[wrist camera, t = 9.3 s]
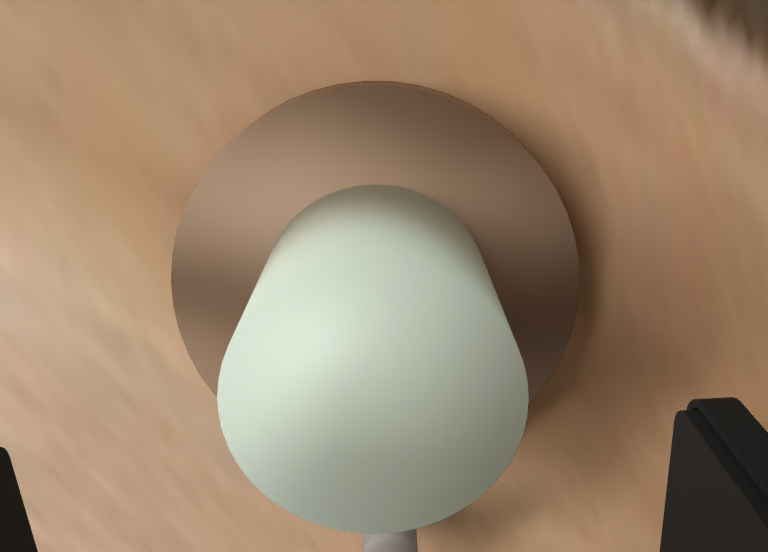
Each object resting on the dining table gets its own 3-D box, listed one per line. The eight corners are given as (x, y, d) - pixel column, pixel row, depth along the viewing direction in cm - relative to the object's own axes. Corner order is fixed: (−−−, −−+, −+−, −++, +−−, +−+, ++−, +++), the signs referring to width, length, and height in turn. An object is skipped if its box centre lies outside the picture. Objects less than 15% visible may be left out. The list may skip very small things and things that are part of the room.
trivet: (157, 92, 19) (110, 109, 16) (572, 69, 19) (612, 82, 16) (224, 520, 24) (199, 601, 21) (558, 505, 24) (586, 585, 21)
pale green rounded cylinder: (252, 190, 19) (196, 268, 13) (486, 177, 19) (530, 251, 13) (284, 456, 22) (249, 615, 16) (488, 446, 21) (525, 602, 16)
